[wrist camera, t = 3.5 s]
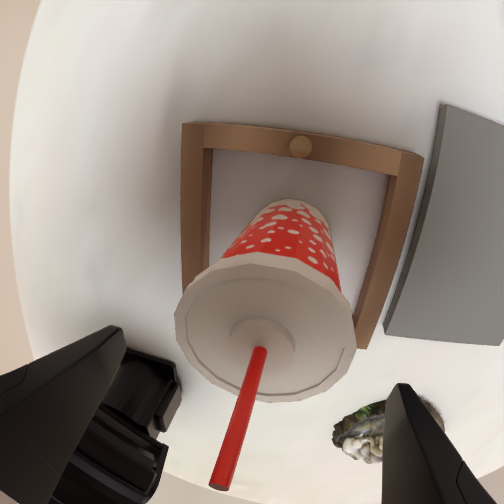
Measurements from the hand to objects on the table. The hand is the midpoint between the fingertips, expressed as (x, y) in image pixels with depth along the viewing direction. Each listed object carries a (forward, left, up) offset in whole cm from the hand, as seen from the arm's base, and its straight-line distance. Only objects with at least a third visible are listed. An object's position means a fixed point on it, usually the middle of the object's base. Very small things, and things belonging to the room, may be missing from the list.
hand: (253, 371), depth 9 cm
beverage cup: (0, 0, -10) cm, 10 cm away
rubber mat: (+12, +2, -10) cm, 16 cm away
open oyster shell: (+13, -17, -11) cm, 24 cm away
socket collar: (0, 0, -10) cm, 10 cm away
